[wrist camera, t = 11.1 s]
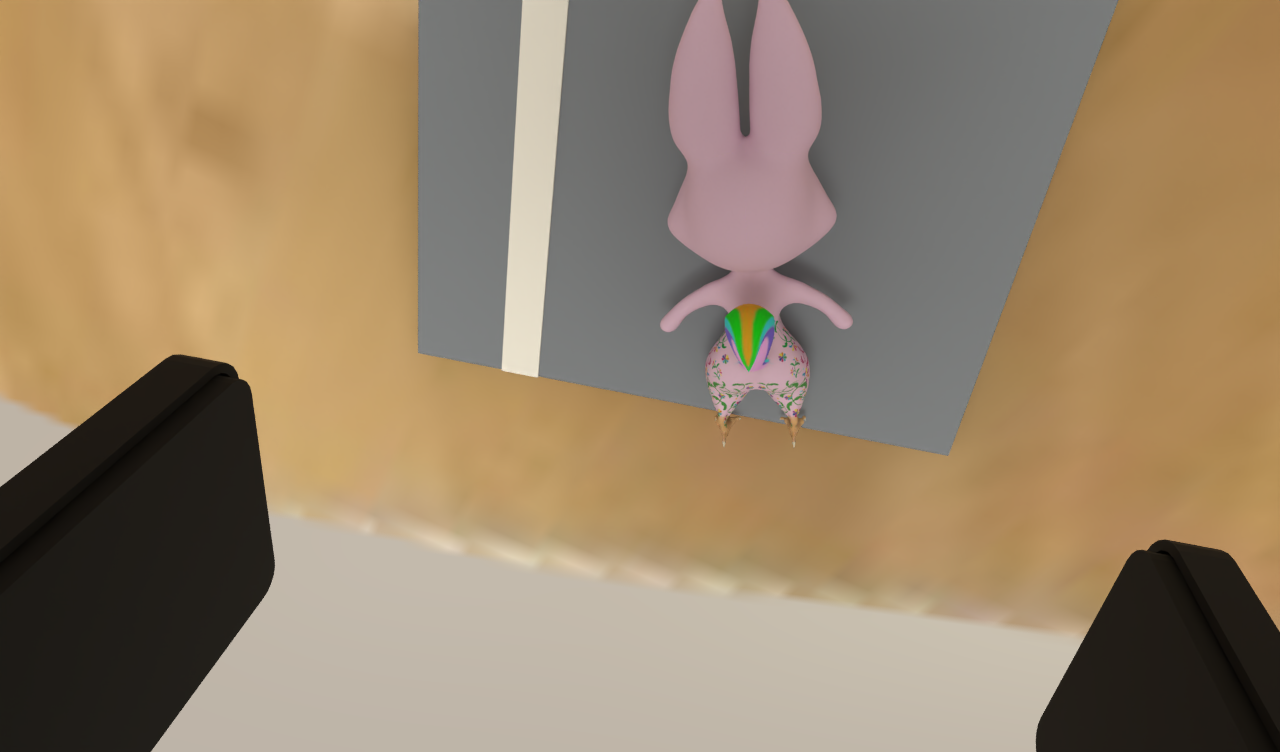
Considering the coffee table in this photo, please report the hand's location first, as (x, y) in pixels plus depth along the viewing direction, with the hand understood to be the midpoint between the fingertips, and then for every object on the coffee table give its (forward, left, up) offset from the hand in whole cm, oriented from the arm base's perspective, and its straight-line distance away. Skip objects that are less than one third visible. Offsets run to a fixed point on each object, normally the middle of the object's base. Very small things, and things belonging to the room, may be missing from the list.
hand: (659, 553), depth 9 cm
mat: (+2, -1, -21) cm, 21 cm away
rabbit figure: (+3, +1, -21) cm, 21 cm away
